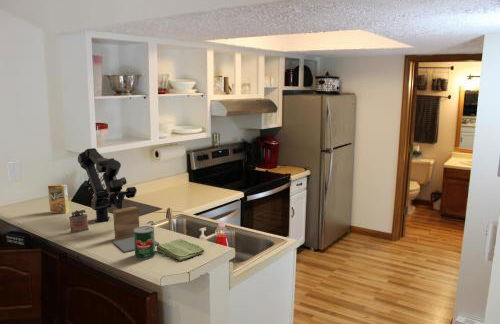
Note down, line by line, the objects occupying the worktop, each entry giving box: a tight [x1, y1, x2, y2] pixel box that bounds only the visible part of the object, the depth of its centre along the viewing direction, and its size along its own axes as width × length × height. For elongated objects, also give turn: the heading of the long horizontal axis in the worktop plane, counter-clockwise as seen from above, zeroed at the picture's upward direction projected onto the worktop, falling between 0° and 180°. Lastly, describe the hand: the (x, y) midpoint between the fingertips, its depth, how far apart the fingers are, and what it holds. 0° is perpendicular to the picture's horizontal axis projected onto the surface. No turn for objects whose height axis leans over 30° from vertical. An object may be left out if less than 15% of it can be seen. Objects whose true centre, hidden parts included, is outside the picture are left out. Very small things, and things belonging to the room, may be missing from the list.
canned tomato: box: [134, 225, 156, 261], centre depth 170 cm, size 8×8×11 cm
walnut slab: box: [112, 206, 140, 241], centre depth 191 cm, size 4×10×13 cm, turn 126°
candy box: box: [47, 183, 70, 214], centre depth 233 cm, size 9×4×15 cm, turn 87°
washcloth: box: [156, 238, 205, 262], centre depth 174 cm, size 13×18×3 cm
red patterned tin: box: [68, 209, 89, 234], centre depth 201 cm, size 8×3×10 cm, turn 123°
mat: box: [112, 237, 160, 254], centre depth 184 cm, size 15×15×1 cm
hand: (120, 209), depth 196 cm, fingers closed
